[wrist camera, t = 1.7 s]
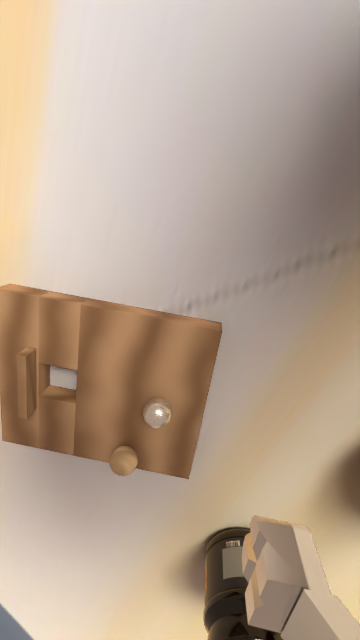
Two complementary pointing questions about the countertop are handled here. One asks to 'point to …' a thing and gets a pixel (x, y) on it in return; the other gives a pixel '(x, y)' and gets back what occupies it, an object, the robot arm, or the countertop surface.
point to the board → (103, 377)
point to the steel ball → (157, 412)
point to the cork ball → (123, 460)
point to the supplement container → (228, 591)
